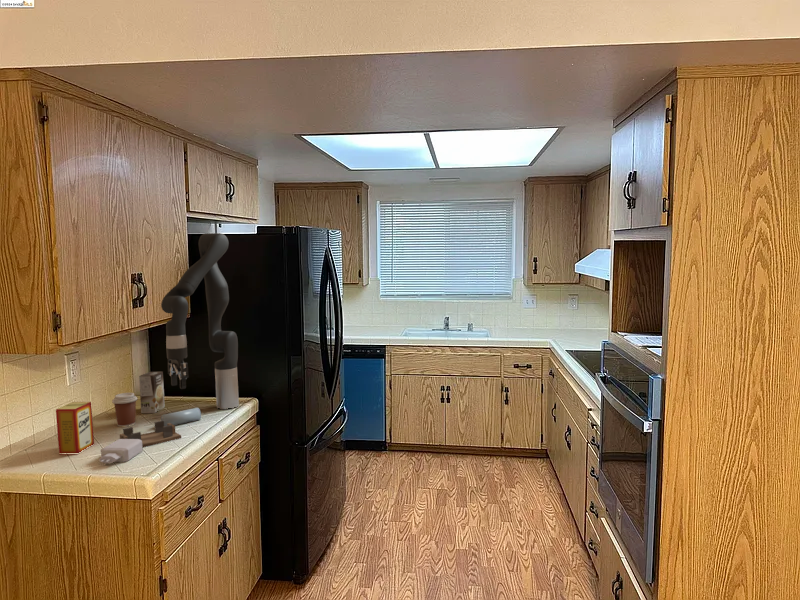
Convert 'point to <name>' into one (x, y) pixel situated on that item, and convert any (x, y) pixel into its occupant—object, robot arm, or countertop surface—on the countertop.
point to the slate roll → (182, 416)
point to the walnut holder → (153, 434)
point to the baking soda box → (74, 427)
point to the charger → (121, 450)
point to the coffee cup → (125, 408)
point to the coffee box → (151, 392)
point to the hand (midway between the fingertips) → (178, 387)
